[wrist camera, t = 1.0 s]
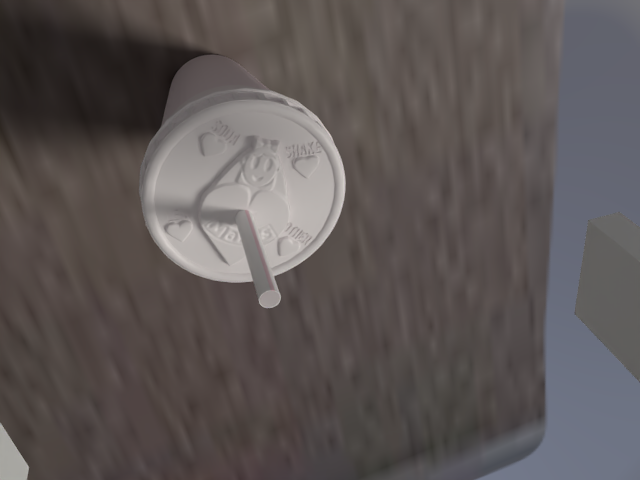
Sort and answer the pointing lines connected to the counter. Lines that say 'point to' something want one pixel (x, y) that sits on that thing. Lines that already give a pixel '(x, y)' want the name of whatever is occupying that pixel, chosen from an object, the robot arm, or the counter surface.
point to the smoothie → (238, 178)
